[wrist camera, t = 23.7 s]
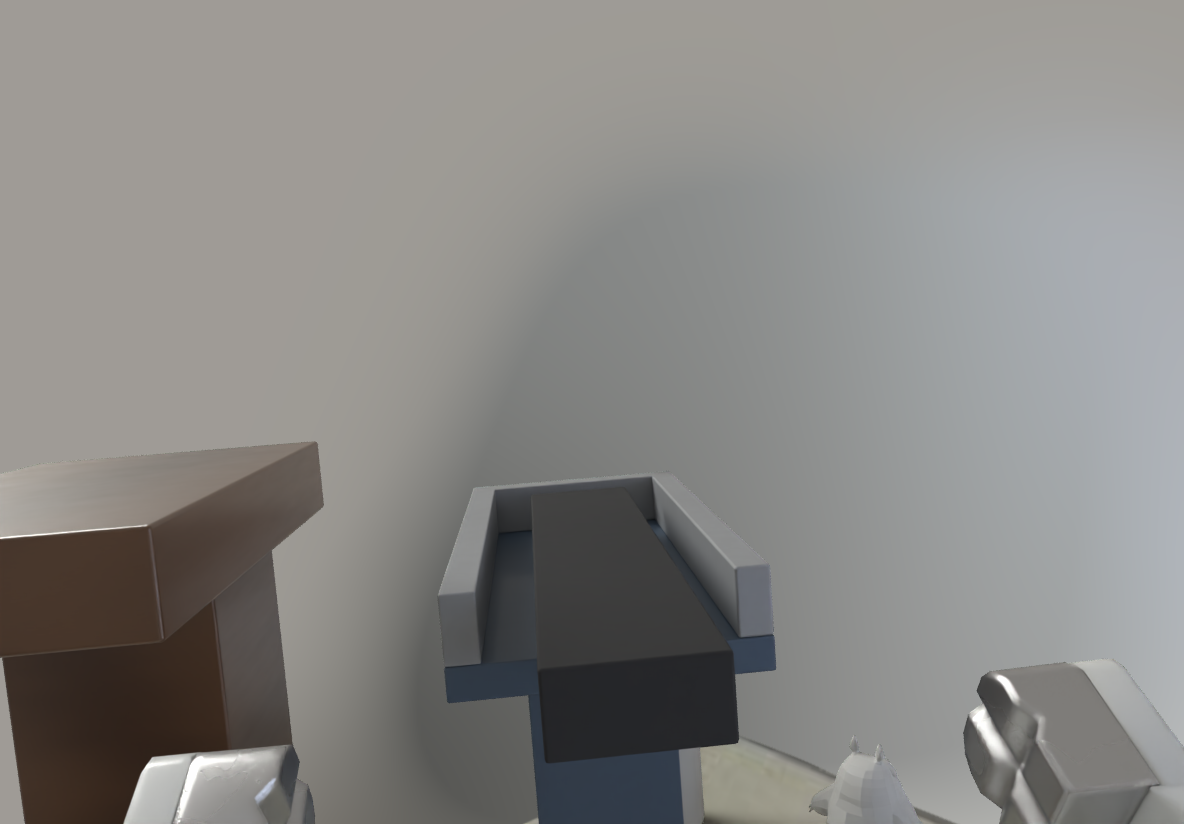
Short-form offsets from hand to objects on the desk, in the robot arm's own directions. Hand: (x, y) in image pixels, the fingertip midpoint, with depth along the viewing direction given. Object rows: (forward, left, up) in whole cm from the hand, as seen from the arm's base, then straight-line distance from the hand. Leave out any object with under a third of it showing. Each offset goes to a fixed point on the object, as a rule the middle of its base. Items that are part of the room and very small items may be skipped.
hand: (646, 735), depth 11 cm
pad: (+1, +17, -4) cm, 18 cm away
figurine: (+14, +31, -24) cm, 41 cm away
